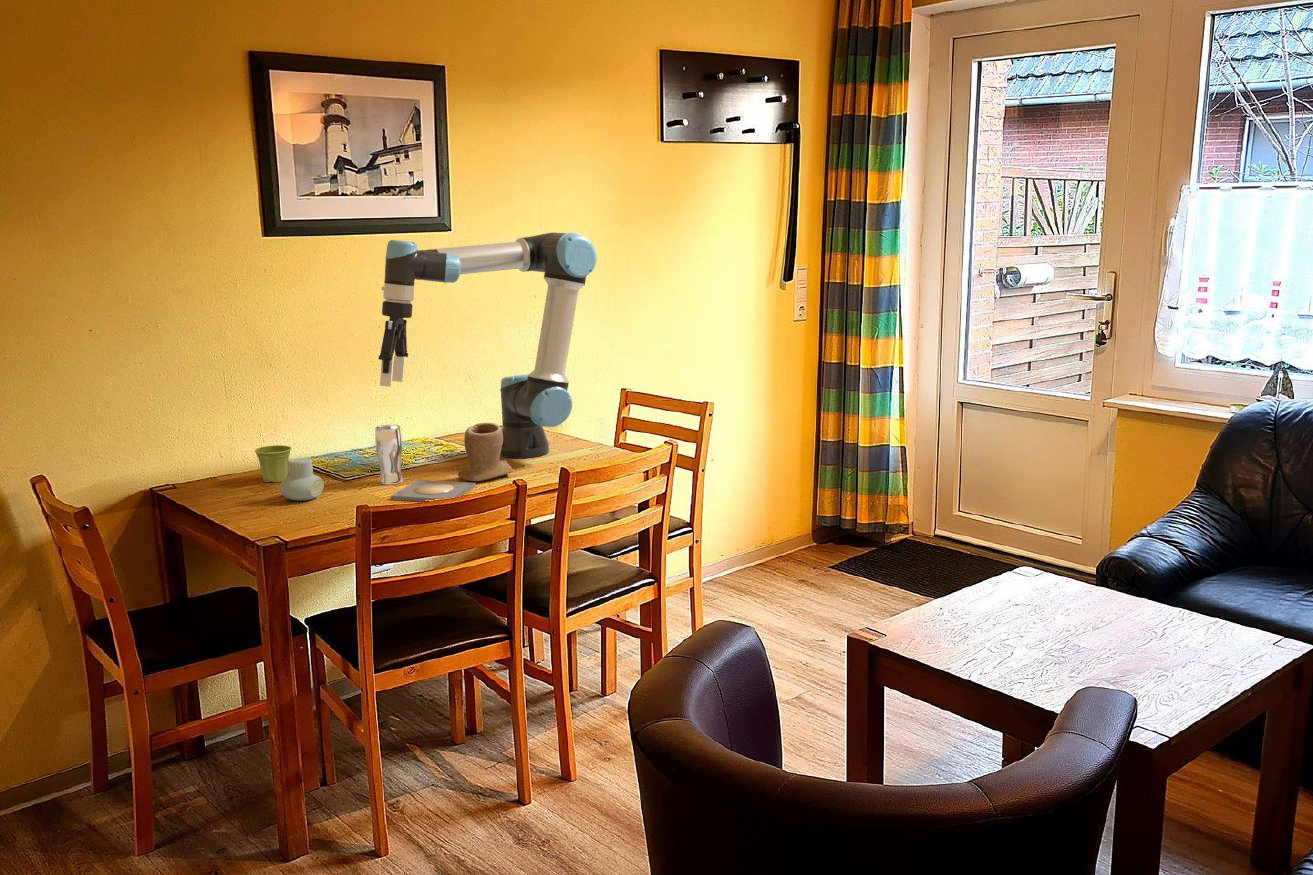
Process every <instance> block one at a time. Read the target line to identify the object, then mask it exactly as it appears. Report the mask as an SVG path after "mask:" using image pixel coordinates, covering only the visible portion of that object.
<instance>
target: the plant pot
mask: <svg viewBox="0 0 1313 875" xmlns="http://www.w3.org/2000/svg"><path fill="white" fill-rule="evenodd" d="M292 449H293V448H292V446H289V445H283V444H282V445H281V444H278V445H277V444H276V445H265V446H260V447H257V448H255V449H254V453H256V456H257V459H258V461H259V467H260V470H261V474H262V479H263V482H266V483H270V482H273V483H280V482H281V483H282V481H283V480H284V479H285V478H287V477H288V476H289V473H288V461H289V460H290V454H291V450H292Z"/></svg>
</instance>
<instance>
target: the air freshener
mask: <svg viewBox="0 0 1313 875" xmlns="http://www.w3.org/2000/svg"><path fill="white" fill-rule="evenodd" d="M313 468H314V467H313V459H311V458H310V457H295V458H291V459H289V461H288V477H287V478H285V479H284V480H283V481H282V482H281V483H280V486H279V493H280V494H281V496H283V497H284V498H285V499H288V500H290V501H296V502H301V501H302V502H303V501H311V500H314V499H316V498H317V497H319V496H320V495H321V493H322V492H323V490H324V487H325V486H324V484H325V483H324V480H323V479H322V478H321V477H320V476H319V475H316V474H314V469H313Z"/></svg>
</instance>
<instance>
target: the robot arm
mask: <svg viewBox="0 0 1313 875" xmlns="http://www.w3.org/2000/svg"><path fill="white" fill-rule="evenodd" d="M384 258H385V265H384V266H385V267H384V284H383V286H381V290H382V291H383V293H382V294H383V295H382V297H383V299H384V300H383V302H382V307H381V314H382V316H385V317H389V320H385V322H384V324H385V325H384V332H383V337H382V342H381V348H380V354H379V355H378V360H380V361H381V367H380V380H379V386H380V387H389V388H391V387H392V382H400V383H403V382H404V371H405V360H406V358H408V357H409V353H408V347H407V346H408V342H407V341H408V340H407V323H408V322H407V319H410V318H412V316H413V306H414V305H413V303H411V302H413V301H414V293H415V280H417V281H418V280H419V281H427V282H428V281H429V282H438V283H444V284H447V283H452V284H453V283H456V282H457V281H458V280H459V278H460V277H461V275H469V274H477V273H480V274H481V273H488V272H490V273H491V272H498V271H499V272H500V271H509V270H519V271H520V272H522V273H524V272H525V273H526V272H537V273H538V272H540V273H544V274H543V280H544V282H545V283H546V284H547V290H546V296H545V303H544V307H543V313H542V314H543V315H542V322H541V328H540V333H539V339H538V340H539V341H538V346H537V353H536V359H535V362H534V363H535V364H534V370H532V371H531V372H530V373H529V374H520V375H519V374H517V375H511V376H505V377H503V378H502V379H501V380H500V390H499V391H500V401H501V402H500V404H501V420H502V427H501V429H502V432H503V444H502V448H501V453H500V457H504V458H511V459H512V458H513V459H522V458H523V459H524V458H525V459H526V458H527V459H528V458H535V457H541V456H544V455H547V454H548V453H549V452H550V444H549V440H548V438H547V435H546V432H545V429H544V428H545V427H546V428H554V427H558V426H560V425H562V424H563V423H564V422H565V421H567V419H568V418H569V416H570V415H571V412H572V409H573V399H572V397H571V395H570V392H569V391H568V390H569V385H570V384H569V383H570V381H569V379H568V378H567V377H566V368H567V362H568V356H569V350H570V344H571V336H572V332H573V325H574V320H575V314H576V307H577V302H578V295H579V291H580V290H581V289H582V288H584V287H585V286H586V280H587V276H588V275H590V273H592V272H593V271H594V269H595V267H596V264H597V252H596V248H595V246H594V245H593V243H592V242H591V240H590V239H589V238H587V237H586V236H584V235H582V234H578V233H575V232H574V233H573V232H547V233H542V234H538V235H533V236H532V235H531V236H525V237H518V238H517V239H516V240H515V241H510V242H509V241H508V242H497V243H487V244H474V245H464V246H453V247H442V248H441V247H440V248H434V249H433V248H431V249H418V244H417V243H416V242H415V241H407V240H397V239H391V240H389V241H388V242H387V246H386V249H385V257H384ZM394 354H395V355H394Z"/></svg>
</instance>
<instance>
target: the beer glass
mask: <svg viewBox="0 0 1313 875" xmlns="http://www.w3.org/2000/svg"><path fill="white" fill-rule="evenodd" d="M401 428H402V427H401V425H398V424H382V425H378V426H377V425H376V427H374V442H375V444H374V445H375V453H376V456H377V459H378V463H379V464H378V465H379V469H380V475H379V483H380V484H381V485H385V486H393V485H399V484H402V483H403V482H404V479H403V475H402V470H401V468H402V467H401V465H402V457H403V456H402V454H403V434H402V429H401Z"/></svg>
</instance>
